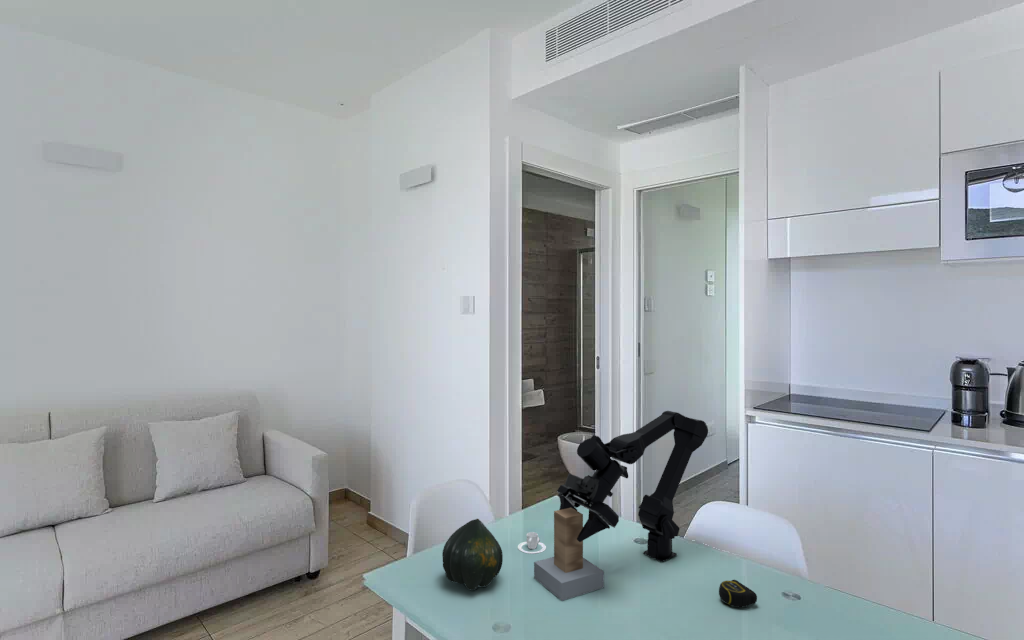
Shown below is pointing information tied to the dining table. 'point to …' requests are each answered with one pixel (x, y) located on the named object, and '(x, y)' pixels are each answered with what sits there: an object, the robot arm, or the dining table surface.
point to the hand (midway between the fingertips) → (566, 533)
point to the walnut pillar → (568, 540)
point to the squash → (472, 556)
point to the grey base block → (568, 578)
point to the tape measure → (736, 594)
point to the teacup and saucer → (532, 543)
